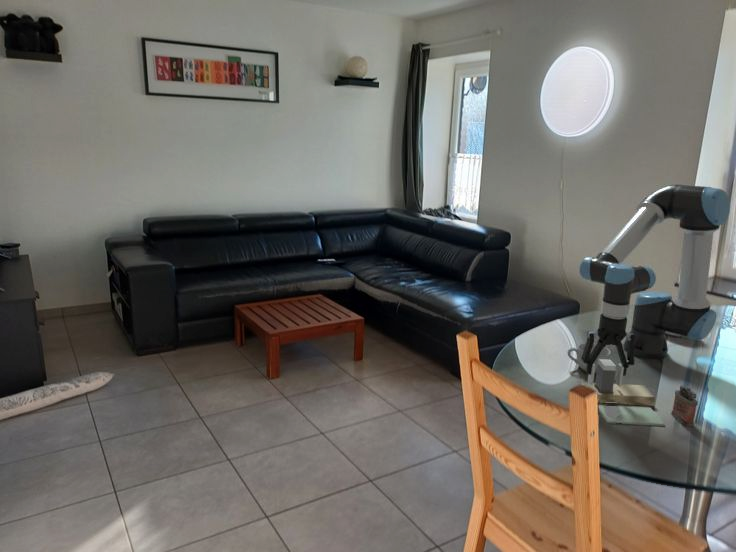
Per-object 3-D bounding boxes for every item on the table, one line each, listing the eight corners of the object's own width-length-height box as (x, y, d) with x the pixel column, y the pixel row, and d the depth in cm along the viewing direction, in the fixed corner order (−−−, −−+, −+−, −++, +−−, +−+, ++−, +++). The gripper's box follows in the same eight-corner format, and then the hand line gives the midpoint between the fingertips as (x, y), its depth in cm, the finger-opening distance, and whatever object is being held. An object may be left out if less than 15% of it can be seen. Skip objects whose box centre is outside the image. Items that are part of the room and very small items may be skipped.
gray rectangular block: (605, 394, 176) (610, 359, 172) (611, 401, 171) (616, 366, 168) (593, 393, 176) (598, 359, 173) (599, 401, 171) (604, 365, 168)
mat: (649, 408, 167) (649, 406, 167) (664, 425, 157) (664, 423, 157) (595, 406, 168) (596, 404, 168) (607, 423, 158) (607, 421, 158)
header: (642, 393, 176) (643, 385, 176) (653, 405, 169) (654, 397, 168) (579, 390, 177) (580, 382, 177) (587, 402, 170) (588, 393, 169)
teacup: (606, 365, 197) (609, 345, 195) (608, 378, 187) (611, 356, 185) (565, 360, 202) (568, 339, 199) (565, 371, 192) (568, 350, 190)
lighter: (668, 412, 164) (673, 382, 162) (678, 412, 165) (684, 382, 162) (685, 427, 157) (691, 395, 154) (696, 426, 157) (702, 394, 154)
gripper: (643, 312, 169) (633, 380, 175) (575, 310, 170) (567, 377, 176) (654, 320, 162) (643, 390, 168) (582, 318, 163) (574, 387, 169)
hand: (604, 383), depth 172 cm, fingers open, 8 cm apart
